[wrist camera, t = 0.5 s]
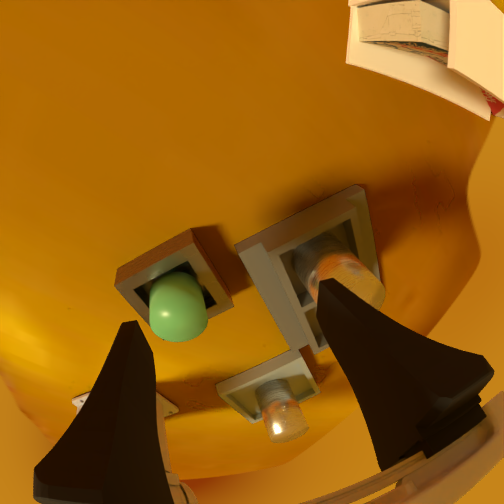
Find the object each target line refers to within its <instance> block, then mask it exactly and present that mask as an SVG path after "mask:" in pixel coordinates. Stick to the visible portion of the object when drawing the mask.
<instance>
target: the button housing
mask: <svg viewBox="0 0 504 504" xmlns="http://www.w3.org/2000/svg"><path fill="white" fill-rule="evenodd" d="M169 272H184V273H187V274H189V275H191V276H193V277H194V278H195V279H197V281H198V282H199V283H200V285H201V289H202V293H203V298H204V303H205V307H206V311H207V316H208V319H210V318H212V317H214V316H216V315H218V314H220V313H222V312H224V311H226V310H228V309H230V308H232V307H234V304H233V301H232V298H231V295H230V292H229V289H228V288H227V286H226V285H225V283H224V282H223V280H222V278H221V277H220V275H219V274H218V272H217V270H216V269H215V267H214V266H213V264H212V262H211V261H210V259H209V257H208V256H207V254H206V253H205V251H204V249H203V248H202V246H201V244H200V243H199V241H198V240H197V238H196V236H195V235H194V233H193V231H192V230H191V228H190V229H188V230H186V231H185V232H183V233H181V234H179V235H177V236H175V237H173V238H172V239H170V240H168V241H166V242H164V243H162V244H161V245H159V246H157V247H155V248H153V249H152V250H150V251H148V252H146V253H144V254H143V255H141V256H139V257H137V258H136V259H134V260H132V261H130V262H129V263H127V264H125V265H123V266H122V267H120V268H118V269H117V273H116V279H115V284H114V286H115V287H116V289H117V290H118V291H119V292H120V293H121V294H122V296H123V297H124V298H125V299H126V300H127V301H128V302H129V304H130V305H131V306H132V307H133V308H134V309H135V310H136V311H137V313H138V314H139V315H140V316H141V317H142V318H143V319H144V320H145V321H146V322H147V323H148V325H149V326H150V288H151V285H152V283H153V282H154V281H155V280H156V279H157V278H158V277H160V276H161V275H163V274H166V273H169ZM150 327H151V326H150ZM163 340H164V339H163Z"/></svg>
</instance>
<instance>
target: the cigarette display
mask: <svg viewBox="0 0 504 504" xmlns="http://www.w3.org/2000/svg"><path fill="white" fill-rule="evenodd" d="M348 6H350V7H351V12H350V24H349V36H348V47H347V56H346V64H350V65H354V66H357V67H360V68H364V69H367V70H370V71H374V72H377V73H380V74H383V75H386V76H389V77H392V78H394V79H397V80H400V81H403V82H405V83H408V84H411V85H413V86H416V87H418V88H421V89H423V90H426V91H428V92H430V93H433V94H435V95H437V96H440V97H442V98H444V99H446V100H448V101H450V102H453V103H455V104H457V105H459V106H461V107H463V108H465V109H467V110H469V111H471V112H473V113H474V114H476V115H478V116H480V117H482V118H484V119H486V120H488V121H489V120H490V114H491V111H492V113H493V115H495V116H498V117H501V118H504V14H503V13H502V12H501V11H500V10H499V9H498V8H497V7H496V6H495V5H494V4H493V3H492V2H491V1H490V0H349V2H348Z"/></svg>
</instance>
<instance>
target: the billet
mask: <svg viewBox="0 0 504 504" xmlns="http://www.w3.org/2000/svg"><path fill="white" fill-rule="evenodd" d="M255 397H256V400H257V403H258V406H259V409H260V411H261V414H262V417H263V420H264V423H265V426H266V428H267V431H268V434H269V437H270V440H271V441H272V442H273V443H284V442H288V441H291V440H294V439H296V438H298V437H300V436H302V435H303V434H305V433H306V432H307V431H308V429H309V427H308V424H307V422H306V420H305V418H304V415H303V413H302V411H301V409H300V407H299V404H298V402H297V400H296V398H295V395H294V393H293V391H292V388H291V386H290V384H289V382H288V381H287V380H285V379H274V380H270V381H268V382H265V383H263V384H262V385H260V386H259V387H258V388H257V389H256V391H255Z"/></svg>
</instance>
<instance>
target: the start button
mask: <svg viewBox="0 0 504 504" xmlns="http://www.w3.org/2000/svg"><path fill="white" fill-rule="evenodd" d="M207 323H208V316H207V311H206V307H205V303H204V298H203V293H202V289H201V285H200V283H199V282H198V281H197V279H195V278H194V277H193V276H191V275H189V274H187V273H184V272H169V273H166V274H163V275H161V276H160V277H158V278H157V279H156V280H155V281H154V282H153V283H152V285H151V288H150V326H151V329H152V330H153V332H154V333H155V334H156V335H157V336H159V337H160V338H162V339H164V340H167V341H172V342H184V341H188V340H191V339H194V338H195V337H197V336H199V335H200V334H201V333H202V332H203V331H204V330H205V328H206V326H207Z"/></svg>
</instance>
